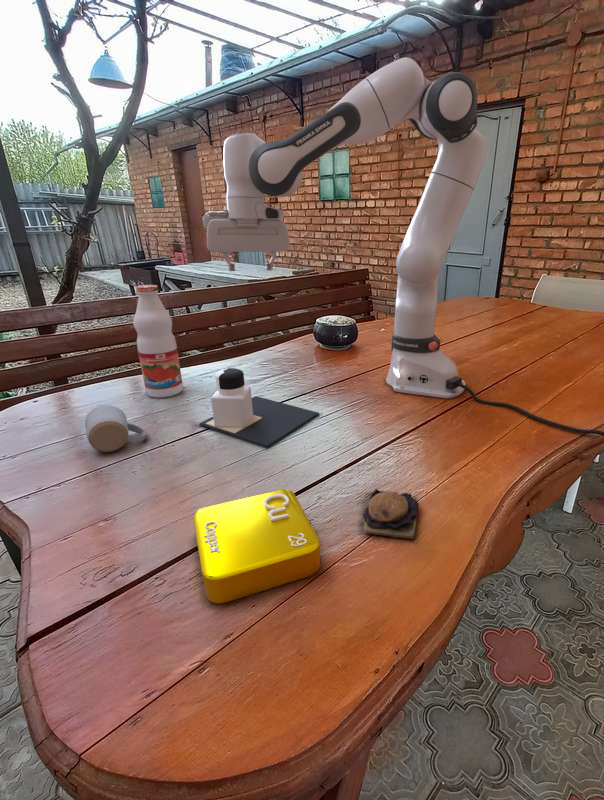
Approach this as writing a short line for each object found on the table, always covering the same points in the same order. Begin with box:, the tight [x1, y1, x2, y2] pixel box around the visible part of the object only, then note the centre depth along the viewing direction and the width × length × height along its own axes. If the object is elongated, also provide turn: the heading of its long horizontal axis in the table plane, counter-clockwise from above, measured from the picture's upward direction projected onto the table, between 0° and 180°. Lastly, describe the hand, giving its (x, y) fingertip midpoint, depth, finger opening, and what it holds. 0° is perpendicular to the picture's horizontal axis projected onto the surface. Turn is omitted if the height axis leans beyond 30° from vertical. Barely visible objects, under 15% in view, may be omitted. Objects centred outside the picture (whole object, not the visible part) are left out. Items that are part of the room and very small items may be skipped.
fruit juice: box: [132, 284, 184, 399], centre depth 110 cm, size 9×9×28 cm
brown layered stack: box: [362, 488, 419, 540], centre depth 67 cm, size 11×8×4 cm
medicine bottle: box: [210, 367, 253, 427], centre depth 95 cm, size 7×7×12 cm
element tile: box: [193, 488, 321, 604], centre depth 59 cm, size 15×15×5 cm
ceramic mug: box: [84, 404, 147, 453], centre depth 87 cm, size 11×8×8 cm
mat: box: [198, 395, 320, 449], centre depth 99 cm, size 20×19×1 cm
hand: (251, 270), depth 109 cm, fingers open, 8 cm apart
